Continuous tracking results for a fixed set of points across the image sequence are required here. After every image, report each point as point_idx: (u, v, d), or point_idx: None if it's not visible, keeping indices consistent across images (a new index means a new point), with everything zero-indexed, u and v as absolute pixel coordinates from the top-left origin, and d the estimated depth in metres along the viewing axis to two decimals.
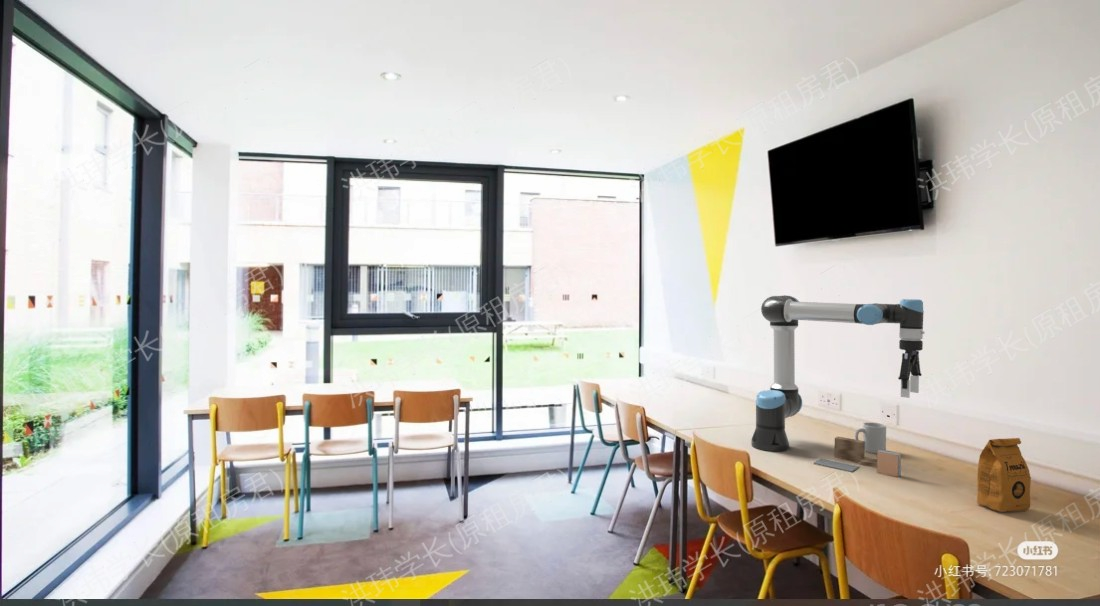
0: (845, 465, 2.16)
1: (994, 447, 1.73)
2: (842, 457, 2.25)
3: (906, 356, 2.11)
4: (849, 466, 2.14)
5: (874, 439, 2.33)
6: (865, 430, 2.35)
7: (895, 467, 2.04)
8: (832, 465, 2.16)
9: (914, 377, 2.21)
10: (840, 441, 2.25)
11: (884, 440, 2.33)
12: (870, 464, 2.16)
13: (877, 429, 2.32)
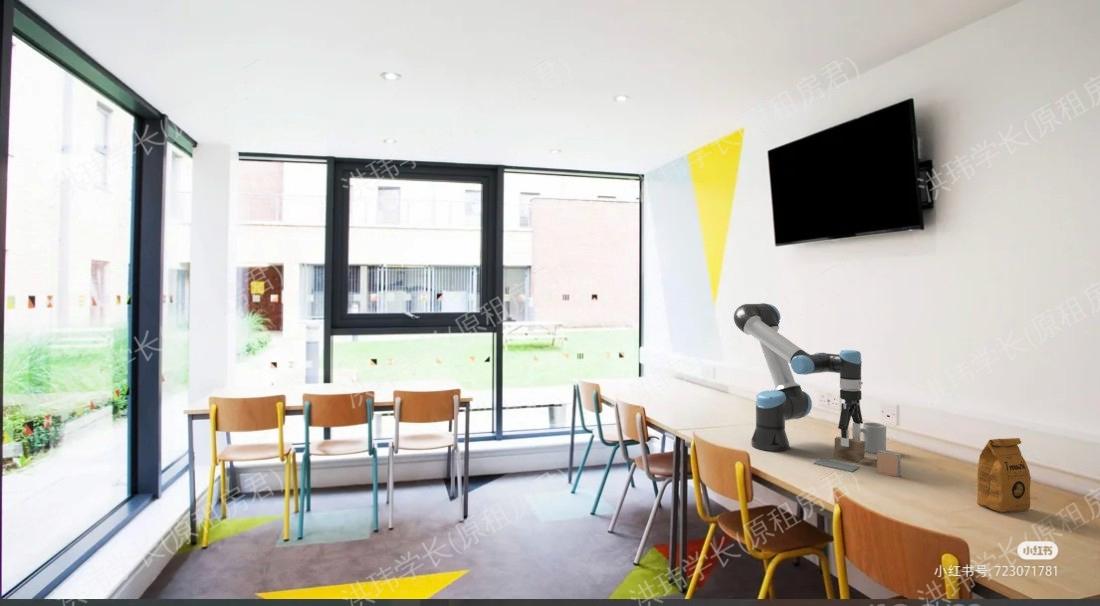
0: (845, 465, 2.16)
1: (994, 447, 1.73)
2: (842, 457, 2.25)
3: (845, 406, 2.19)
4: (849, 466, 2.14)
5: (874, 439, 2.33)
6: (865, 430, 2.35)
7: (895, 467, 2.04)
8: (832, 465, 2.16)
9: (856, 425, 2.28)
10: (840, 440, 2.25)
11: (884, 440, 2.33)
12: (870, 464, 2.16)
13: (877, 429, 2.32)
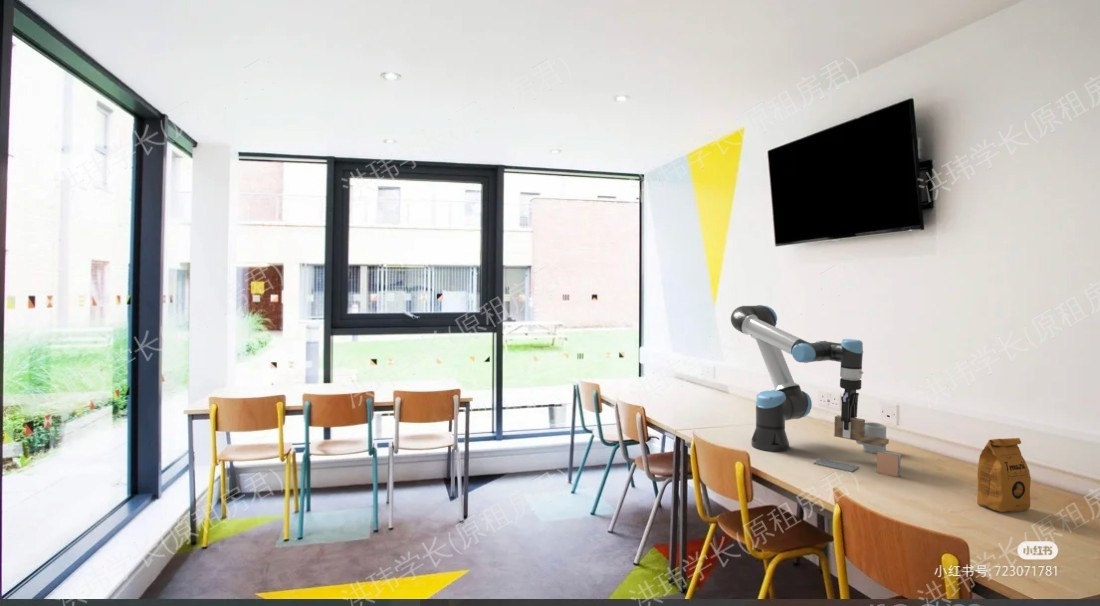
0: (845, 465, 2.16)
1: (994, 447, 1.73)
2: (842, 436, 2.25)
3: (845, 400, 2.19)
4: (849, 466, 2.14)
5: None
6: (865, 430, 2.35)
7: (895, 467, 2.04)
8: (832, 465, 2.16)
9: None
10: (840, 419, 2.25)
11: None
12: (870, 442, 2.16)
13: (877, 429, 2.32)
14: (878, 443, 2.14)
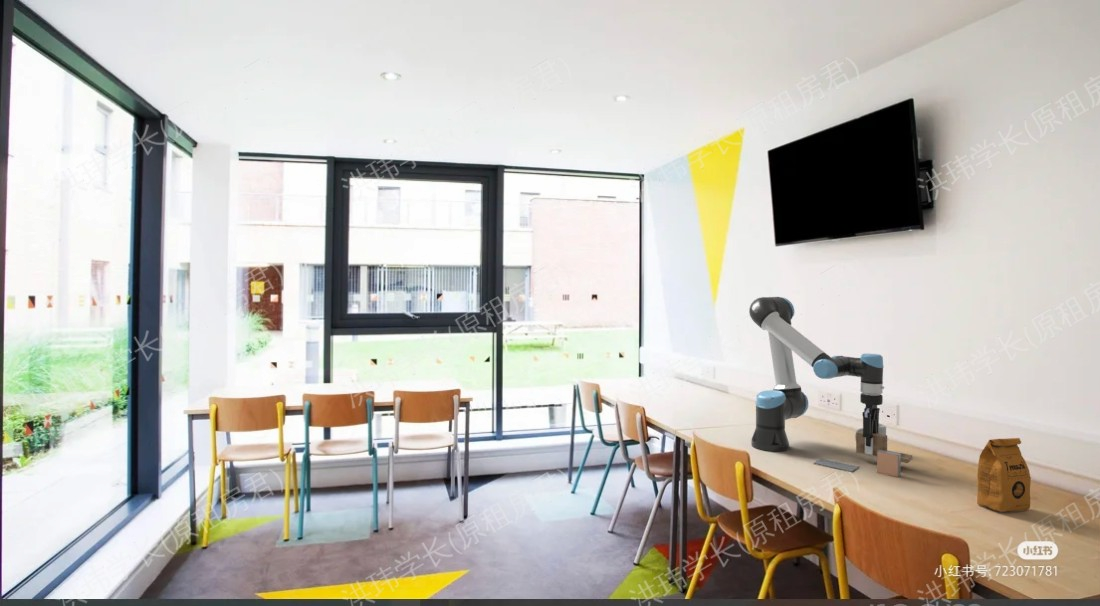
0: (845, 465, 2.16)
1: (994, 447, 1.73)
2: (864, 452, 2.21)
3: (866, 415, 2.16)
4: (849, 466, 2.14)
5: None
6: None
7: (895, 467, 2.04)
8: (832, 465, 2.16)
9: None
10: None
11: None
12: None
13: None
14: (902, 459, 2.10)
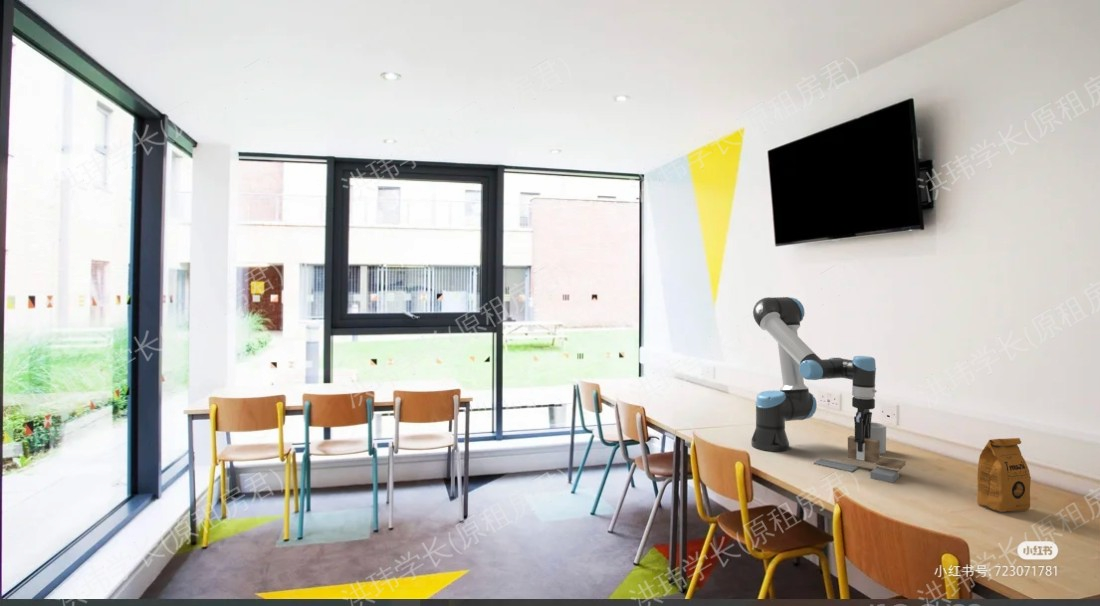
0: (845, 465, 2.16)
1: (994, 447, 1.73)
2: None
3: (858, 420, 2.09)
4: (849, 466, 2.14)
5: (874, 439, 2.33)
6: None
7: None
8: (832, 465, 2.16)
9: None
10: None
11: (884, 440, 2.33)
12: (886, 464, 2.05)
13: (877, 429, 2.32)
14: (895, 465, 2.03)
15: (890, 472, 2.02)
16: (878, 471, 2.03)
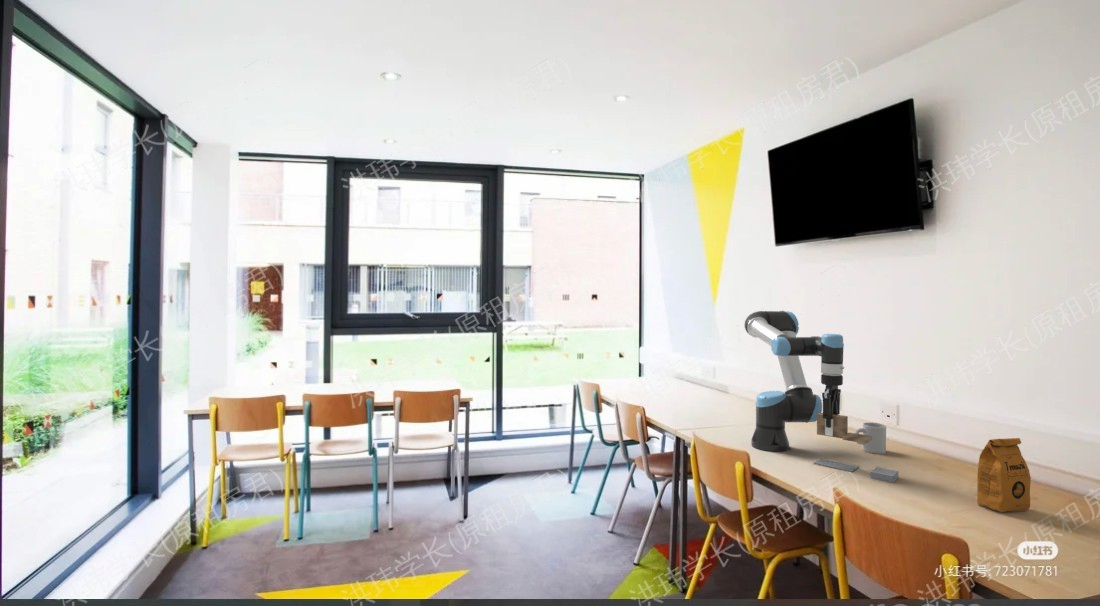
0: (845, 465, 2.16)
1: (994, 447, 1.73)
2: None
3: (826, 396, 2.13)
4: (849, 466, 2.14)
5: (874, 439, 2.33)
6: (865, 430, 2.35)
7: None
8: (832, 465, 2.16)
9: None
10: (822, 416, 2.18)
11: (884, 440, 2.33)
12: (853, 439, 2.09)
13: (877, 429, 2.32)
14: (861, 440, 2.07)
15: (891, 472, 2.02)
16: (878, 471, 2.03)
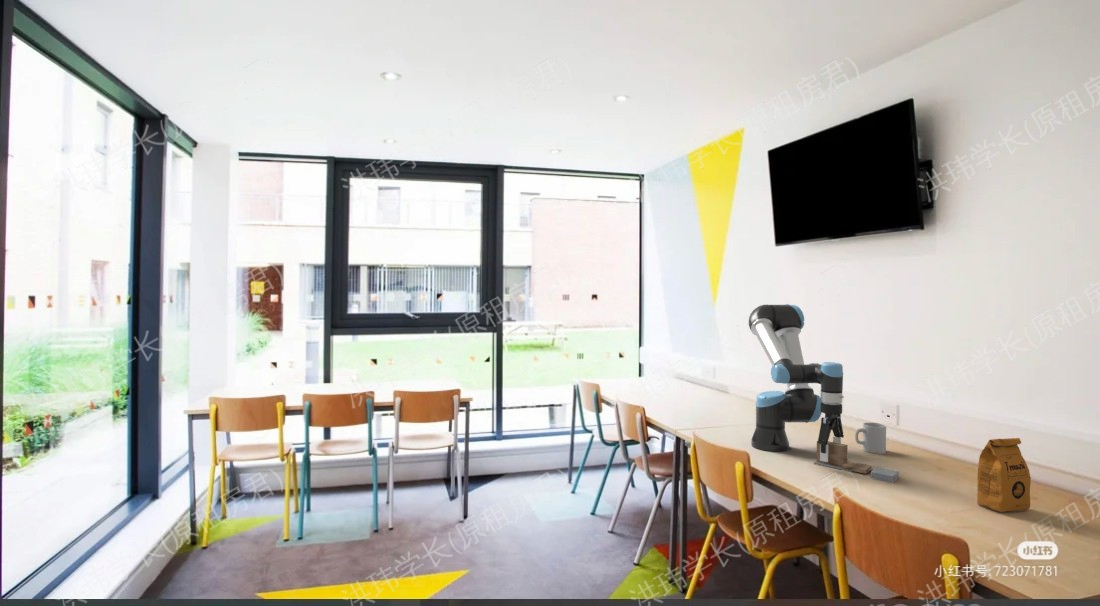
0: None
1: (994, 447, 1.73)
2: None
3: (825, 420, 2.13)
4: None
5: (874, 439, 2.33)
6: (865, 430, 2.35)
7: None
8: (832, 465, 2.16)
9: (836, 439, 2.23)
10: None
11: (884, 440, 2.33)
12: (852, 468, 2.09)
13: (877, 429, 2.32)
14: (860, 470, 2.07)
15: (891, 472, 2.02)
16: (878, 471, 2.03)
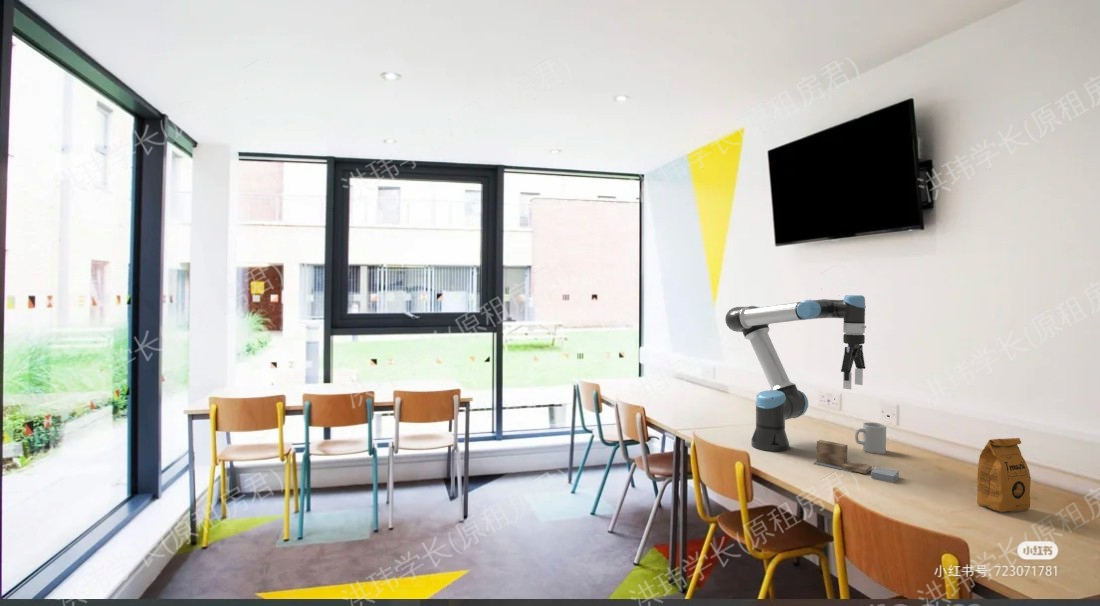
0: None
1: (994, 447, 1.73)
2: (824, 461, 2.18)
3: (848, 349, 2.20)
4: None
5: (874, 439, 2.33)
6: (865, 430, 2.35)
7: None
8: (832, 465, 2.16)
9: (858, 370, 2.30)
10: (822, 444, 2.18)
11: (884, 440, 2.33)
12: (852, 468, 2.09)
13: (877, 429, 2.32)
14: (860, 470, 2.07)
15: (891, 472, 2.02)
16: (878, 471, 2.03)
